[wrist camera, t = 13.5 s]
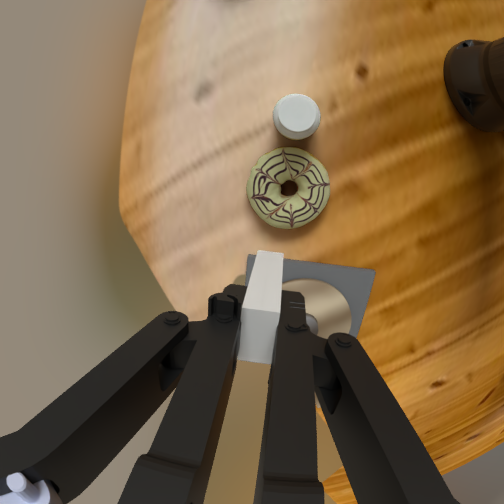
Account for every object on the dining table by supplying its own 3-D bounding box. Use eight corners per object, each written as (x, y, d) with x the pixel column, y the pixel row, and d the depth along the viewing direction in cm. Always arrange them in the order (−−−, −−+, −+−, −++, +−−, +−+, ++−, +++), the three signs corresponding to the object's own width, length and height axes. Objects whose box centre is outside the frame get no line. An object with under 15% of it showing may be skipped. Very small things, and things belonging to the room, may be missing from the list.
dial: (240, 294, 45) (228, 332, 36) (337, 265, 41) (350, 299, 32) (276, 373, 50) (273, 416, 40) (359, 352, 46) (370, 394, 37)
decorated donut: (234, 194, 41) (229, 199, 38) (280, 132, 38) (279, 130, 34) (294, 237, 42) (295, 246, 39) (341, 178, 39) (346, 181, 35)
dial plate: (373, 269, 42) (376, 273, 41) (344, 365, 49) (345, 370, 48) (248, 254, 44) (247, 257, 43) (239, 354, 51) (238, 359, 49)
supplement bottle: (317, 105, 36) (326, 92, 27) (313, 143, 37) (321, 142, 28) (276, 99, 36) (274, 86, 27) (272, 137, 38) (268, 135, 29)
